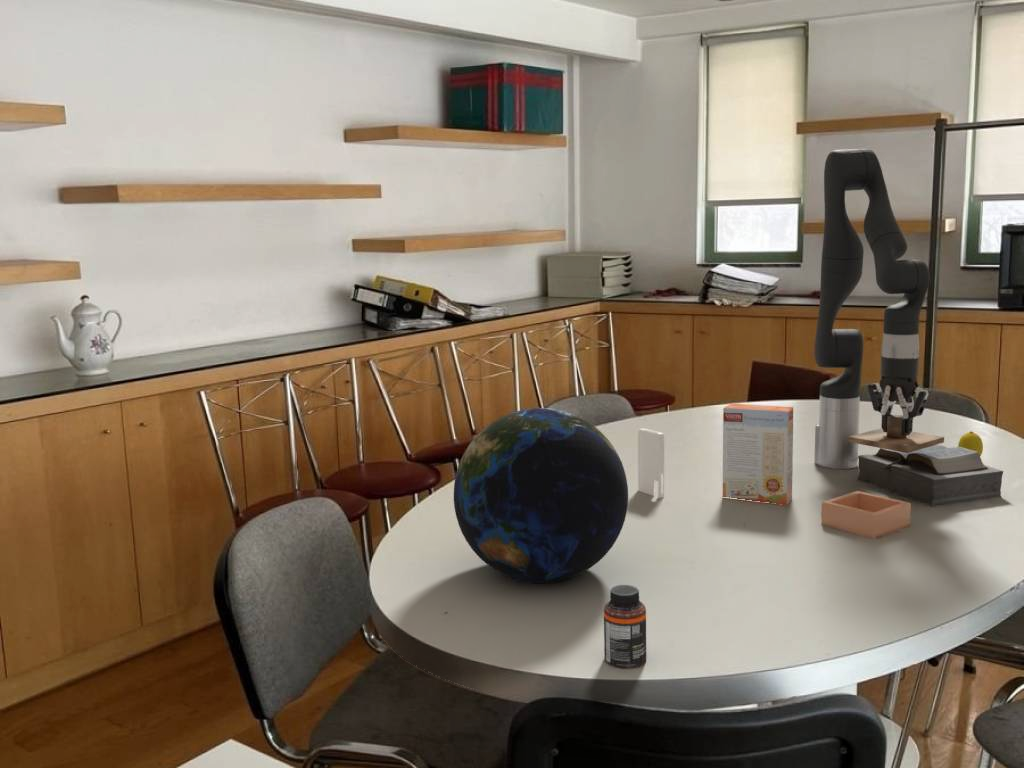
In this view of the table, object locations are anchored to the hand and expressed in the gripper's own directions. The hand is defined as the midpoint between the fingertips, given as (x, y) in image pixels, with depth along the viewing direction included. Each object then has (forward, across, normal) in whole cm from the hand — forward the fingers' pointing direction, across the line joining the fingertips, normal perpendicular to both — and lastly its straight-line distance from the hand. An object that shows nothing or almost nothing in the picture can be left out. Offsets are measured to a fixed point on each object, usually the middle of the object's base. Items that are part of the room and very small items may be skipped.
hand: (896, 433), depth 226 cm
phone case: (+14, -35, -39) cm, 54 cm away
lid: (+2, 0, 0) cm, 2 cm away
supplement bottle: (+14, +22, -103) cm, 106 cm away
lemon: (+14, -4, +39) cm, 42 cm away
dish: (+14, +8, -23) cm, 28 cm away
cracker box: (+14, -18, -24) cm, 33 cm away
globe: (+14, -13, -89) cm, 91 cm away
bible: (+15, +1, +11) cm, 18 cm away
